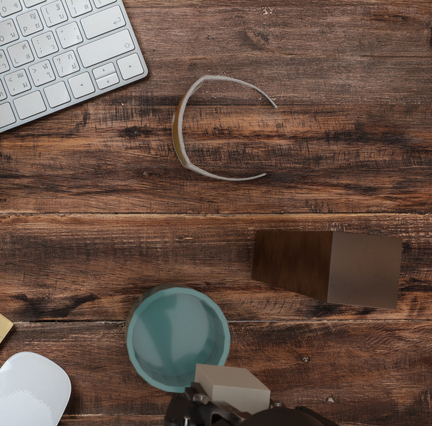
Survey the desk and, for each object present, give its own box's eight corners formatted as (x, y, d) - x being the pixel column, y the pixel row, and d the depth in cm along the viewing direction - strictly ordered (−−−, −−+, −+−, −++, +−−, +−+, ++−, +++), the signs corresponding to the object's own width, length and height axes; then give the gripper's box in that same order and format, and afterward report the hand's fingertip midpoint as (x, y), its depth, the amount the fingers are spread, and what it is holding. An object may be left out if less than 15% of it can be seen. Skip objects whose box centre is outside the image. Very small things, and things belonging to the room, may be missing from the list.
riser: (299, 284, 68) (397, 310, 47) (251, 279, 68) (326, 302, 46) (303, 235, 69) (403, 238, 47) (256, 230, 68) (333, 230, 47)
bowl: (215, 384, 68) (225, 397, 63) (119, 375, 67) (121, 387, 62) (224, 288, 68) (235, 293, 63) (129, 278, 68) (132, 282, 63)
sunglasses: (176, 73, 69) (187, 62, 64) (271, 96, 71) (290, 88, 66) (159, 170, 68) (169, 166, 63) (255, 190, 71) (273, 188, 66)
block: (241, 418, 43) (265, 449, 37) (191, 414, 43) (207, 444, 37) (245, 368, 43) (270, 390, 37) (196, 363, 43) (213, 385, 37)
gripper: (167, 576, 24) (136, 432, 41) (442, 598, 25) (299, 447, 42) (182, 425, 24) (145, 344, 41) (454, 450, 25) (307, 360, 42)
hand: (222, 396), depth 41 cm, fingers closed on block, 4 cm apart
